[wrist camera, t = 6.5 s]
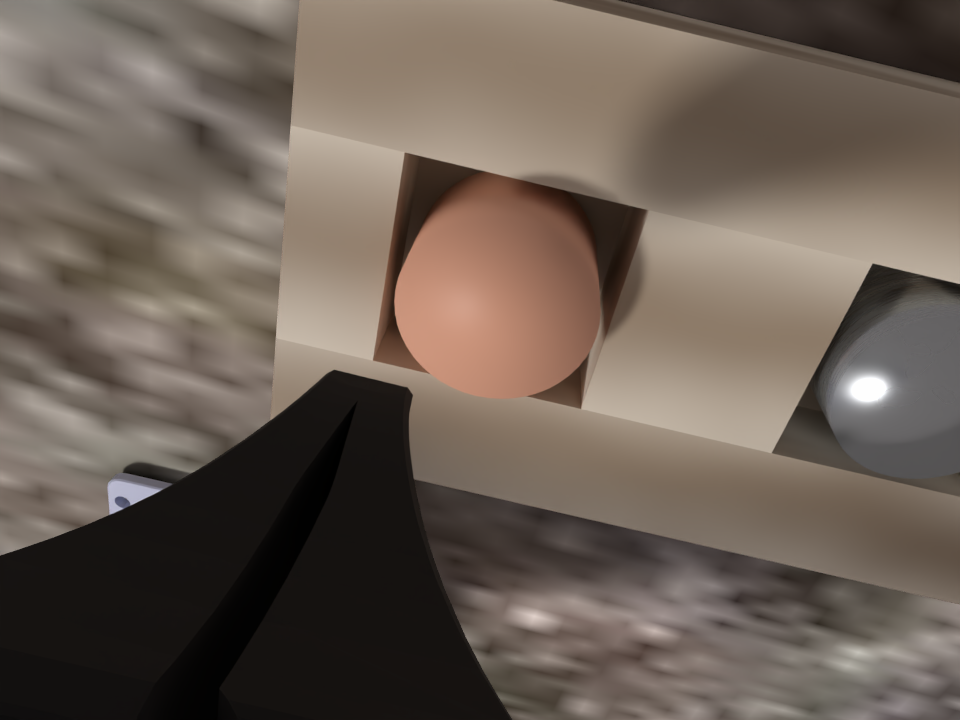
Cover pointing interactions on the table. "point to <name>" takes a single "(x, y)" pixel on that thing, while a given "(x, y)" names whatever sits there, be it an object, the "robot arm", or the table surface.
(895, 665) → the table surface
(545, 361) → the terracotta button
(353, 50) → the button panel
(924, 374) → the grey button
